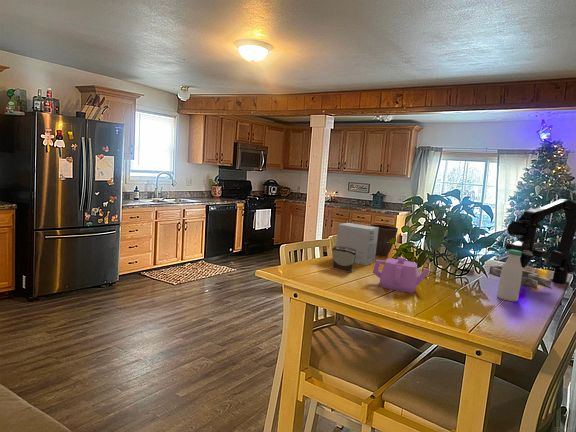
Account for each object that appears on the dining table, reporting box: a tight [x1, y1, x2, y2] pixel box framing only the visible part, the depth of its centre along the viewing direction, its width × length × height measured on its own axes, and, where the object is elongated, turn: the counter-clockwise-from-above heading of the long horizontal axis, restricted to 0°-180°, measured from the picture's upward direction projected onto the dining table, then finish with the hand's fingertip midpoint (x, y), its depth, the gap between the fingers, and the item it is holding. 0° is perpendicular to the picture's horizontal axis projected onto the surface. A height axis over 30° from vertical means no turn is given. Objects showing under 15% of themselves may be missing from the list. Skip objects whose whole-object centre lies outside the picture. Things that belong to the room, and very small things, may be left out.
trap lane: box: [489, 265, 552, 288], centre depth 207 cm, size 25×21×4 cm
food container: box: [331, 245, 358, 274], centre depth 191 cm, size 12×6×10 cm, turn 58°
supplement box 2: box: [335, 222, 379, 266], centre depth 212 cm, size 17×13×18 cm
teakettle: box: [372, 256, 431, 294], centre depth 170 cm, size 17×17×12 cm
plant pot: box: [370, 224, 399, 257], centre depth 233 cm, size 15×15×16 cm
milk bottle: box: [496, 249, 523, 302], centre depth 169 cm, size 8×8×20 cm
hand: (523, 267), depth 205 cm, fingers closed
